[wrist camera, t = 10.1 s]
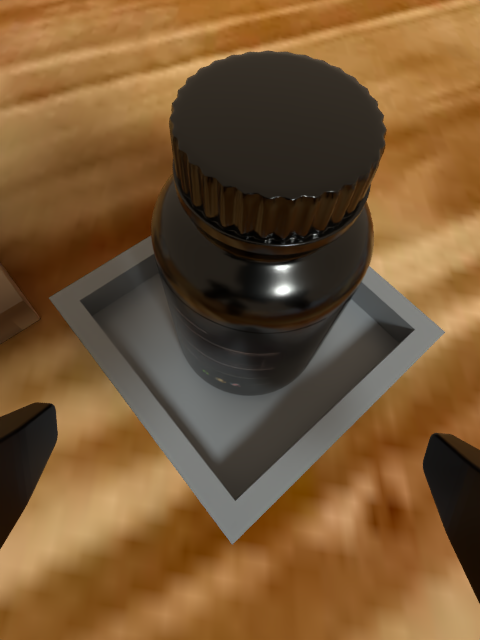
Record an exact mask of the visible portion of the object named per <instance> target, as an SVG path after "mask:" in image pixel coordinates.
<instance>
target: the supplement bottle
mask: <svg viewBox="0 0 480 640" xmlns="http://www.w3.org/2000/svg"><path fill="white" fill-rule="evenodd" d="M171 111H172V114H171V117H170V120H169V128H170V135H171V143H172V150H173V174H172V175H171V176H170V177H169V179H168V180H167V182H166V183H165V185H164V186H163V188H162V190H161V192H160V194H159V196H158V199H157V201H156V204H155V207H154V211H153V215H152V223H151V239H152V246H153V251H154V256H155V260H156V264H157V267H158V271H159V274H160V278H161V281H162V285H163V288H164V292H165V295H166V299H167V302H168V306H169V309H170V313H171V316H172V320H173V323H174V327H175V330H176V334H177V337H178V341H179V344H180V347H181V349H182V352H183V354H184V356H185V358H186V360H187V362H188V363H189V365H190V366H191V368H192V369H193V370H194V371H195V373H196V374H197V375H198V376H199V377H201V378H202V379H203V380H204V381H205V382H207V383H208V384H210V385H212V386H213V387H215V388H217V389H219V390H222V391H224V392H228V393H231V394H236V395H243V396H256V395H263V394H268V393H271V392H274V391H277V390H279V389H281V388H283V387H285V386H287V385H288V384H290V383H291V382H293V381H294V380H295V379H296V378H297V377H298V376H300V374H301V373H302V372H303V371H304V370H305V369H306V367H307V366H308V365H309V363H310V362H311V360H312V359H313V358H314V356H315V354H316V353H317V351H318V350H319V348H320V347H321V345H322V344H323V342H324V340H325V339H326V337H327V336H328V334H329V333H330V331H331V330H332V328H333V326H334V325H335V323H336V322H337V320H338V319H339V317H340V316H341V314H342V312H343V311H344V309H345V308H346V306H347V305H348V303H349V302H350V300H351V298H352V297H353V295H354V294H355V292H356V291H357V289H358V287H359V285H360V284H361V282H362V280H363V278H364V276H365V274H366V272H367V269H368V267H369V264H370V261H371V257H372V252H373V246H374V231H373V222H372V218H371V213H370V210H369V207H368V204H367V202H366V201H367V198H368V195H369V192H370V186H371V181H372V179H373V177H374V175H375V173H376V171H377V168H378V166H379V161H380V159H381V157H382V155H383V152H384V149H385V140H384V138H385V135H386V127H385V125H384V124H383V118H384V115H383V114H382V112H381V111H380V110H379V109H378V103H377V101H376V100H375V99H374V98H373V97H372V96H370V94H369V91H368V89H367V88H366V87H364V86H362V85H361V84H359V83H358V81H357V80H356V78H355V77H353V76H350V75H348V74H346V73H345V72H344V71H343V70H341V69H340V68H338V67H335V66H331V65H329V64H328V63H326V62H325V61H323V60H318V59H313V58H311V57H309V56H306V55H297V54H293V53H289V52H273V51H263V52H247V53H244V54H242V55H231V56H229V57H227V58H226V59H222V60H217V61H214V62H213V63H212V64H210V65H209V66H206V67H203V68H200V69H199V70H198V72H197V73H196V74H195V75H193V76H191V77H189V78H187V81H186V84H185V85H184V86H183V87H182V88H180V89H179V90H178V95H177V98H176V99H175V101H174V102H173V103H172V109H171Z"/></svg>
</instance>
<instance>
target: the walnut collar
mask: <svg viewBox="0 0 480 640" xmlns="http://www.w3.org/2000/svg"><path fill="white" fill-rule="evenodd" d="M40 319H41V318H40V317H39V316H38V314H37V313H36V311H35V310H34V309H33V307H32V306H31V304H30V303H29V302H28V300H27V299H26V297H25V296H24V295H23V293H22V292H21V290H20V289H19V288H18V286H17V285H16V283H15V282H14V281H13V279H12V278H11V277H10V275H9V274H8V272H7V271H6V270H5V268H4V267H3V265H2V264H1V263H0V344H1V343H3V342H4V341H6V340H7V339H9V338H11V337H12V336H14V335H16V334H17V333H19V332H20V331H22V330H24V329H25V328H27V327H28V326H30V325H32V324H33V323H35V322H36V321H38V320H40Z"/></svg>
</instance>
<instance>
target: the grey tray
mask: <svg viewBox="0 0 480 640" xmlns="http://www.w3.org/2000/svg"><path fill="white" fill-rule="evenodd" d="M49 299H50V300H51V302H52V303H53V304H54V306H55V307H56V308H57V310H58V311H59V312H60V314H61V315H62V316H63V318H64V319H65V320H66V322H67V323H68V324H69V326H70V327H71V329H72V330H73V331H74V333H75V334H76V335H77V337H78V338H79V339H80V341H81V342H82V343H83V345H84V346H85V347H86V349H87V350H88V351H89V353H90V354H91V355H92V357H93V358H94V359H95V361H96V362H97V363H98V365H99V366H100V368H101V369H102V370H103V372H104V373H105V374H106V376H107V377H108V378H109V380H110V381H111V382H112V384H113V385H114V386H115V388H116V389H117V390H118V392H119V393H120V394H121V396H122V397H123V398H124V400H125V401H126V402H127V404H128V405H129V407H130V408H131V409H132V411H133V412H134V413H135V415H136V416H137V417H138V419H139V420H140V421H141V423H142V424H143V425H144V427H145V428H146V429H147V431H148V432H149V433H150V435H151V436H152V437H153V439H154V440H155V441H156V443H157V444H158V446H159V447H160V448H161V450H162V451H163V452H164V454H165V455H166V456H167V458H168V459H169V460H170V462H171V463H172V464H173V466H174V467H175V468H176V470H177V471H178V472H179V474H180V475H181V476H182V478H183V479H184V480H185V482H186V483H187V484H188V486H189V487H190V489H191V490H192V491H193V493H194V494H195V495H196V497H197V498H198V499H199V501H200V502H201V503H202V505H203V506H204V507H205V509H206V510H207V511H208V513H209V514H210V515H211V517H212V518H213V519H214V521H215V522H216V523H217V525H218V526H219V528H220V529H221V530H222V532H223V533H224V534H225V536H226V537H227V538H228V540H229V541H230V542H231V544H233V543H234V542H235V541H236V540H237V539H238V538H239V537H240V536H241V535H242V534H243V533H244V532H245V531H246V530H247V529H248V528H249V527H250V526H251V525H252V524H253V523H254V522H255V521H256V520H258V519H259V518H260V517H261V516H262V515H263V514H264V513H265V512H266V511H267V510H268V509H269V508H270V507H271V506H272V505H273V504H274V503H275V502H276V501H277V500H278V499H279V498H280V497H281V496H282V495H283V494H284V493H285V492H286V491H287V490H288V489H289V488H290V487H291V486H292V485H293V484H294V483H295V482H296V481H297V480H298V479H299V478H300V477H301V476H302V475H303V474H304V473H305V472H306V471H307V470H308V469H309V468H310V467H311V466H312V465H313V464H314V463H315V462H316V461H317V460H318V459H319V458H320V457H321V456H322V455H323V454H324V453H325V452H326V451H327V450H328V449H329V448H330V447H331V446H332V445H333V444H334V443H335V442H336V441H337V440H338V439H339V438H340V437H341V436H342V435H343V434H344V433H345V432H346V431H347V430H348V429H349V428H350V427H351V426H352V425H353V424H354V423H355V422H356V421H357V420H358V419H359V418H360V417H361V416H362V415H363V414H364V413H365V412H366V411H367V410H368V409H369V408H370V407H371V406H372V405H373V404H374V403H375V402H376V401H377V400H378V399H379V398H380V397H381V396H382V395H383V394H384V393H385V392H386V391H387V390H388V389H389V388H390V387H391V386H392V385H393V384H394V383H395V382H396V381H397V380H398V379H399V378H400V377H401V376H402V375H403V374H404V373H405V372H406V371H407V370H408V369H409V368H410V367H411V366H412V365H413V364H414V363H415V362H416V361H417V360H418V359H419V358H420V357H421V356H422V355H423V354H424V353H425V352H426V351H427V350H428V349H429V348H430V347H431V346H432V345H433V344H434V343H435V342H436V341H437V340H438V339H439V338H440V337H441V336H442V335H443V334H444V333H445V332H444V331H443V330H442V329H441V328H440V327H439V326H437V325H436V324H435V323H434V322H433V321H432V320H431V319H429V318H428V317H427V316H426V315H425V314H424V313H422V312H421V311H420V310H419V309H418V308H417V307H416V306H414V305H413V304H412V303H411V302H410V301H409V300H408V299H406V298H405V297H404V296H403V295H402V294H401V293H399V292H398V291H397V290H396V289H395V288H394V287H393V286H391V285H390V284H389V283H388V282H387V281H386V280H385V279H383V278H382V277H381V276H380V275H379V274H378V273H376V272H375V271H374V270H373V269H372V268H371V267H370V266H369V267H368V269H367V272H366V274H365V276H364V278H363V280H362V282H361V284H360V285H359V287H358V289H357V291H356V292H355V294H354V295H353V297H352V298H351V300H350V302H349V303H348V305H347V306H346V308H345V309H344V311H343V312H342V314H341V316H340V317H339V319H338V320H337V322H336V323H335V325H334V326H333V328H332V330H331V331H330V333H329V334H328V336H327V337H326V339H325V340H324V342H323V344H322V345H321V347H320V348H319V350H318V351H317V353H316V354H315V356H314V358H313V359H312V360H311V362H310V363H309V365H308V366H307V367H306V369H305V370H304V371H303V372H302V373H301V374H300V376H298V377H297V378H296V379H295V380H294V381H293V382H291V383H290V384H288V385H287V386H285V387H283V388H281V389H279V390H277V391H274V392H271V393H268V394H263V395H256V396H243V395H236V394H231V393H228V392H224V391H222V390H219V389H217V388H215V387H213V386H212V385H210V384H208V383H207V382H205V381H204V380H203V379H202V378H201V377H199V376H198V375H197V374H196V373H195V371H194V370H193V369H192V368H191V366H190V365H189V363H188V362H187V360H186V358H185V356H184V354H183V352H182V349H181V347H180V344H179V341H178V337H177V334H176V330H175V327H174V323H173V320H172V316H171V313H170V309H169V306H168V302H167V299H166V295H165V292H164V288H163V285H162V281H161V278H160V274H159V271H158V267H157V264H156V260H155V256H154V251H153V246H152V239H151V236H149V237H148V238H146V239H144V240H143V241H141V242H139V243H138V244H136V245H135V246H133V247H131V248H130V249H128V250H126V251H125V252H123V253H121V254H120V255H118V256H116V257H115V258H113V259H112V260H110V261H108V262H107V263H105V264H103V265H102V266H100V267H98V268H97V269H95V270H94V271H92V272H90V273H89V274H87V275H85V276H84V277H82V278H80V279H79V280H77V281H76V282H74V283H72V284H71V285H69V286H67V287H66V288H64V289H62V290H61V291H59V292H57V293H56V294H54V295H53V296H51V297H49Z"/></svg>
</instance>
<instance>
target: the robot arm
mask: <svg viewBox="0 0 480 640" xmlns="http://www.w3.org/2000/svg"><path fill="white" fill-rule="evenodd" d="M57 436H58V431H57V420H56V410H55V407H54V405H53V404H50V403H38V402H37V403H33V404H30V405H28V406H26V407H23V408H21V409H18V410H16V411H14V412H11V413H9V414H7V415H4V416H2V417H0V549H1V547H2V546H3V544H4V542H5V541H6V539H7V537H8V536H9V534H10V532H11V531H12V529H13V527H14V526H15V524H16V522H17V521H18V519H19V517H20V516H21V514H22V512H23V510H24V509H25V507H26V505H27V503H28V502H29V500H30V498H31V496H32V494H33V491H34V489H35V487H36V485H37V483H38V481H39V479H40V476H41V474H42V472H43V470H44V468H45V466H46V464H47V461H48V459H49V457H50V455H51V453H52V451H53V449H54V446H55V444H56V441H57ZM423 470H424V473H425V476H426V479H427V482H428V485H429V487H430V490H431V493H432V496H433V498H434V501H435V504H436V507H437V509H438V512H439V515H440V518H441V521H442V523H443V526H444V528H445V531H446V533H447V536H448V538H449V540H450V542H451V544H452V547H453V549H454V551H455V553H456V555H457V557H458V559H459V561H460V563H461V565H462V568H463V570H464V572H465V574H466V576H467V578H468V580H469V582H470V584H471V587H472V589H473V591H474V593H475V595H476V597H477V599H478V601H479V603H480V450H479V449H477V448H475V447H473V446H471V445H470V444H468V443H466V442H464V441H462V440H461V439H459V438H457V437H455V436H454V435H451V434H443V433H434V434H432V435H431V437H430V439H429V443H428V446H427V450H426V453H425V456H424V460H423Z"/></svg>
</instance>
